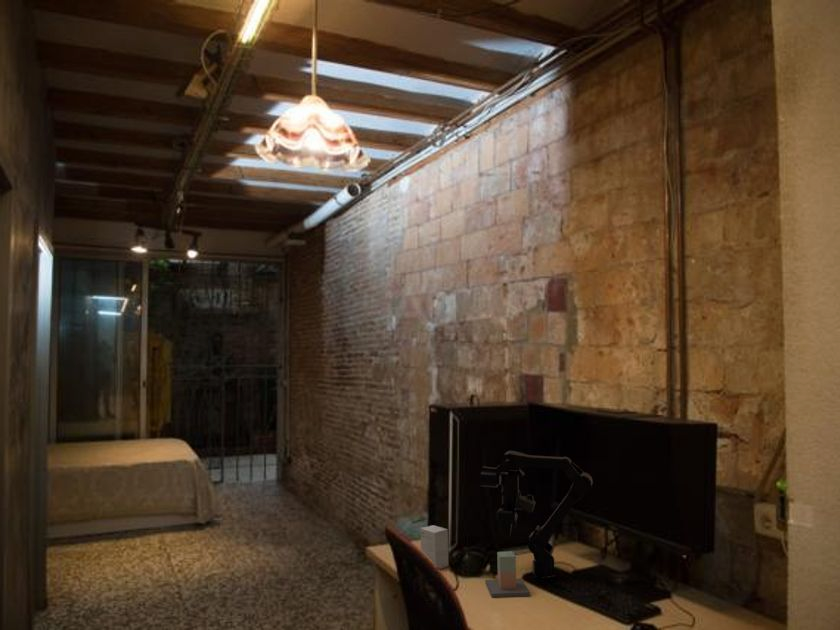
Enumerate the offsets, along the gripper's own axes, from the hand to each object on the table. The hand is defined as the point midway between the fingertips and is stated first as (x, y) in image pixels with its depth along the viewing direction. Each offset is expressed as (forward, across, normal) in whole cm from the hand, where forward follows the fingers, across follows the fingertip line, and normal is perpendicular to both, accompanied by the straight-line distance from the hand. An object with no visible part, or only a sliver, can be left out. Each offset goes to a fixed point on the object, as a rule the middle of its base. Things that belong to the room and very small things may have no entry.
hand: (510, 534), depth 223 cm
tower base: (+13, -16, -2) cm, 21 cm away
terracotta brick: (+12, -16, -2) cm, 20 cm away
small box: (+14, 0, +27) cm, 30 cm away
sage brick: (+7, -16, -2) cm, 17 cm away
